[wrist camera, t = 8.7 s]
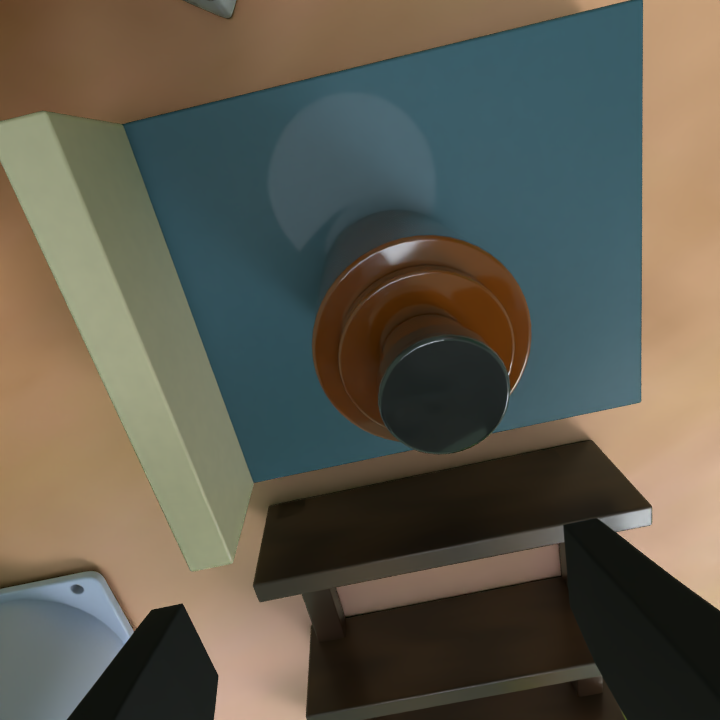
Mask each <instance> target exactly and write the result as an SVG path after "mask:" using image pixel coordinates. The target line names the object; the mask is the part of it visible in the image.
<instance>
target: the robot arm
mask: <svg viewBox="0 0 720 720" xmlns="http://www.w3.org/2000/svg"><path fill="white" fill-rule="evenodd" d="M563 529H564V542H565V554H566V566H567V579H568V591H569V603H570V608H571V610H572V612H573V614H574V617H575V619H576V621H577V624H578V626H579V628H580V631H581V633H582V635H583V637H584V640H585V642H586V644H587V646H588V649H589V651H590V653H591V655H592V657H593V660H594V662H595V664H596V666H597V668H598V670H599V671H600V673H601V675H602V677H603V679H604V680H605V682H606V684H607V686H608V688H609V689H610V691H611V693H612V695H613V696H614V698H615V700H616V702H617V704H618V705H619V707H620V709H621V711H622V712H623V714H624V716H625V718H626V719H627V720H720V611H719V610H718V609H717V608H715V607H714V606H712V605H711V604H710V603H708V602H707V601H706V600H704V599H703V598H701V597H700V596H699V595H697V594H696V593H694V592H693V591H692V590H690V589H689V588H688V587H686V586H685V585H683V584H682V583H681V582H679V581H678V580H677V579H675V578H674V577H673V576H671V575H670V574H669V573H667V572H666V571H665V570H664V569H662V568H661V567H660V566H658V565H657V564H656V563H654V562H653V561H652V560H651V559H649V558H648V557H647V556H645V555H644V554H643V553H641V552H640V551H639V550H638V549H636V548H635V547H634V546H633V545H631V544H630V543H629V542H627V541H626V540H625V539H624V538H622V537H621V536H620V535H619V534H617V533H616V532H615V531H614V530H612V529H611V528H610V527H609V526H607V525H606V524H605V523H603V522H602V521H600V520H599V519H597V518H594V519H589V520H584V521H580V522H575V523H570V524H565V525H563ZM77 584H78V585H77ZM79 585H80V586H79ZM217 685H218V674H217V672H216V670H215V668H214V666H213V664H212V662H211V660H210V658H209V656H208V654H207V652H206V650H205V648H204V646H203V644H202V642H201V640H200V637H199V635H198V633H197V631H196V629H195V627H194V625H193V623H192V621H191V619H190V617H189V615H188V613H187V611H186V609H185V607H184V605H183V604H178V605H173V606H168V607H163V608H158V609H154V610H151V611H150V613H149V614H148V615H147V616H146V618H145V619H144V620H143V621H142V623H141V624H140V625H139V626H138V628H137V629H136V630H135V632H134V631H133V629H132V627H131V625H130V624H129V622H128V620H127V618H126V616H125V615H124V613H123V611H122V609H121V607H120V606H119V604H118V602H117V600H116V598H115V597H114V595H113V593H112V591H111V589H110V588H109V586H108V584H107V582H106V580H105V579H104V577H103V576H102V575H101V574H100V573H98V572H95V571H86V572H81V573H76V574H71V575H67V576H62V577H57V578H52V579H47V580H42V581H37V582H32V583H27V584H22V585H17V586H12V587H7V588H2V589H0V720H214V713H215V704H216V694H217Z"/></svg>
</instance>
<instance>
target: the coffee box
mask: <svg viewBox="0 0 720 720" xmlns="http://www.w3.org/2000/svg"><path fill="white" fill-rule="evenodd" d="M183 1H185V2H188V3H190V4H193V5H195V6H197V7H200V8H202V9H204V10H207V11H209V12H211V13H214V14H216V15H219V16H221V17H224V18H229V17H231V16H232V13H233V10H234V7H235V3H236V0H183Z"/></svg>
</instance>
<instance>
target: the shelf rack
mask: <svg viewBox="0 0 720 720" xmlns="http://www.w3.org/2000/svg"><path fill="white" fill-rule="evenodd" d="M594 518H597V519H599V520H600V521H602V522H603V523H605V524H606V525H607V526H609V527H610V528H611V529H612V530H614V531H615V532H619V531H624V530H629V529H634V528H640V527H645V526H650V525H651V524H652V506H651V505H650V503H649V502H648V501H647V500H646V499H645V498H644V497H643V496H642V495H641V494H640V492H639V491H638V490H637V489H636V488H635V487H634V486H633V485H632V484H631V483H630V481H629V480H628V479H627V478H626V477H625V476H624V475H623V474H622V473H621V472H620V470H619V469H618V468H617V467H616V466H615V465H614V464H613V463H612V462H611V460H610V459H609V458H608V457H607V456H606V455H605V454H604V453H603V452H602V451H601V449H600V448H599V447H598V446H597V445H596V444H595V443H594V442H593V441H592V440H589V441H584V442H579V443H574V444H569V445H564V446H559V447H555V448H550V449H545V450H540V451H535V452H530V453H526V454H521V455H516V456H511V457H506V458H501V459H496V460H492V461H487V462H482V463H477V464H472V465H467V466H462V467H457V468H453V469H448V470H443V471H438V472H433V473H428V474H423V475H419V476H414V477H409V478H404V479H399V480H394V481H389V482H385V483H380V484H375V485H370V486H365V487H360V488H355V489H350V490H346V491H341V492H336V493H331V494H326V495H321V496H316V497H312V498H307V499H301V500H296V501H291V502H286V503H282V504H278V505H273V506H269V508H268V513H267V518H266V523H265V528H264V533H263V538H262V543H261V548H260V553H259V558H258V563H257V568H256V573H255V577H254V582H253V587H254V590H255V592H256V595H257V597H258V600H259V602H264V601H269V600H274V599H279V598H284V597H289V596H294V595H299V594H302V596H303V599H304V602H305V605H306V608H307V610H308V613H309V616H310V619H311V622H312V624H313V625H312V626H311V637H310V654H309V671H308V688H307V705H306V718H307V720H626V719H625V717H624V715H623V713H622V711H621V709H620V707H619V705H618V704H617V702H616V700H615V698H614V696H613V695H612V693H611V691H610V689H609V688H608V686H607V684H606V682H605V680H604V679H603V677H602V675H601V673H600V671H599V670H598V668H597V666H596V664H595V662H594V660H593V657H592V655H591V653H590V651H589V649H588V646H587V644H586V642H585V640H584V637H583V635H582V633H581V631H580V628H579V626H578V624H577V621H576V619H575V617H574V614H573V612H572V610H571V608H570V603H569V591H568V579H567V566H566V554H565V542H564V529H563V525H565V524H570V523H575V522H580V521H584V520H589V519H594ZM558 543H559V546H560V558H561V571H562V576H561V577H556V578H551V579H546V580H541V581H535V582H530V583H525V584H520V585H515V586H510V587H505V588H499V589H494V590H489V591H484V592H479V593H474V594H468V595H463V596H458V597H453V598H448V599H443V600H438V601H432V602H427V603H422V604H417V605H412V606H407V607H401V608H396V609H391V610H386V611H381V612H376V613H371V614H365V615H360V616H355V617H350V618H345V616H344V613H343V610H342V607H341V604H340V601H339V598H338V594H337V591H336V588H335V587H340V586H345V585H350V584H355V583H360V582H365V581H370V580H376V579H381V578H386V577H391V576H396V575H401V574H406V573H411V572H416V571H421V570H426V569H431V568H436V567H442V566H447V565H452V564H457V563H462V562H467V561H472V560H477V559H482V558H487V557H492V556H497V555H502V554H508V553H513V552H518V551H523V550H528V549H533V548H538V547H543V546H548V545H553V544H558Z"/></svg>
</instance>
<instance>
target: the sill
mask: <svg viewBox="0 0 720 720" xmlns="http://www.w3.org/2000/svg"><path fill="white" fill-rule="evenodd" d="M642 83H643V0H629V1H625V2H621V3H617V4H613V5H609V6H605V7H601V8H596V9H592V10H588V11H584V12H580V13H576V14H572V15H568V16H564V17H560V18H555V19H551V20H547V21H543V22H539V23H535V24H531V25H527V26H523V27H518V28H514V29H510V30H506V31H502V32H498V33H494V34H490V35H486V36H482V37H477V38H473V39H469V40H465V41H461V42H457V43H453V44H449V45H445V46H440V47H436V48H432V49H428V50H424V51H420V52H416V53H412V54H408V55H404V56H399V57H395V58H391V59H387V60H383V61H379V62H375V63H371V64H367V65H363V66H358V67H354V68H350V69H346V70H342V71H338V72H334V73H330V74H326V75H321V76H317V77H313V78H309V79H305V80H301V81H297V82H293V83H289V84H285V85H280V86H276V87H272V88H268V89H264V90H260V91H256V92H252V93H248V94H243V95H239V96H235V97H231V98H227V99H223V100H219V101H215V102H211V103H207V104H202V105H198V106H194V107H190V108H186V109H182V110H178V111H174V112H170V113H166V114H161V115H157V116H153V117H149V118H145V119H141V120H137V121H133V122H129V123H124V124H118V123H112V122H106V121H100V120H94V119H89V118H83V117H77V116H71V115H65V114H59V113H53V112H47V111H40V112H36V113H32V114H28V115H23V116H19V117H15V118H11V119H7V120H3V121H0V161H1V163H2V166H3V168H4V170H5V172H6V174H7V176H8V179H9V181H10V183H11V185H12V187H13V189H14V191H15V194H16V196H17V198H18V200H19V202H20V204H21V207H22V209H23V211H24V213H25V215H26V217H27V220H28V222H29V224H30V226H31V228H32V230H33V232H34V235H35V237H36V239H37V241H38V243H39V245H40V248H41V250H42V252H43V254H44V256H45V258H46V261H47V263H48V265H49V267H50V269H51V271H52V273H53V276H54V278H55V280H56V282H57V284H58V286H59V289H60V291H61V293H62V295H63V297H64V299H65V301H66V304H67V306H68V308H69V310H70V312H71V314H72V317H73V319H74V321H75V323H76V325H77V327H78V330H79V332H80V334H81V336H82V338H83V340H84V342H85V345H86V347H87V349H88V351H89V353H90V355H91V358H92V360H93V362H94V364H95V366H96V368H97V370H98V373H99V375H100V377H101V379H102V381H103V383H104V386H105V388H106V390H107V392H108V394H109V396H110V399H111V401H112V403H113V405H114V407H115V409H116V411H117V414H118V416H119V418H120V420H121V422H122V424H123V427H124V429H125V431H126V433H127V435H128V437H129V440H130V442H131V444H132V446H133V448H134V450H135V452H136V455H137V457H138V459H139V461H140V463H141V465H142V468H143V470H144V472H145V474H146V476H147V478H148V480H149V483H150V485H151V487H152V489H153V491H154V493H155V496H156V498H157V500H158V502H159V504H160V506H161V509H162V511H163V513H164V515H165V517H166V519H167V521H168V524H169V526H170V528H171V530H172V532H173V534H174V537H175V539H176V541H177V543H178V545H179V547H180V550H181V552H182V554H183V556H184V558H185V560H186V562H187V565H188V567H189V569H190V571H198V570H203V569H208V568H213V567H218V566H223V565H228V564H232V563H233V561H234V557H235V553H236V549H237V546H238V542H239V538H240V534H241V530H242V527H243V523H244V519H245V515H246V511H247V507H248V504H249V500H250V496H251V492H252V488H253V484H254V483H256V482H261V481H265V480H270V479H275V478H280V477H285V476H289V475H294V474H299V473H304V472H309V471H314V470H318V469H323V468H328V467H333V466H338V465H342V464H347V463H352V462H357V461H362V460H366V459H371V458H376V457H381V456H386V455H390V454H395V453H400V452H405V451H410V450H414V449H412V448H410V447H408V446H406V445H404V444H403V443H401V442H397V441H392V440H387V439H384V438H381V437H378V436H375V435H373V434H370V433H368V432H366V431H364V430H362V429H361V428H359V427H357V426H356V425H354V424H353V423H351V422H350V421H349V420H348V419H346V418H345V417H344V416H343V415H341V413H340V412H339V411H338V410H337V409H336V408H335V407H334V406H333V405H332V403H331V402H330V401H329V399H328V398H327V396H326V395H325V393H324V391H323V389H322V387H321V385H320V384H319V381H318V378H317V375H316V372H315V369H314V364H313V359H312V346H311V343H312V330H313V324H314V317H315V311H316V304H317V298H318V291H319V285H320V278H321V272H322V268H323V264H324V261H325V258H326V256H327V254H328V252H329V250H330V248H331V246H332V245H333V243H334V242H335V241H336V239H337V238H338V237H339V236H340V235H341V233H342V232H343V231H344V230H346V229H347V228H348V227H349V226H350V225H352V224H353V223H355V222H356V221H358V220H359V219H361V218H363V217H365V216H368V215H370V214H373V213H376V212H379V211H385V210H393V209H402V210H411V211H415V212H419V213H422V214H424V215H427V216H429V217H431V218H433V219H435V220H436V221H438V222H440V223H441V224H443V225H445V226H446V227H448V228H450V229H451V230H453V231H454V232H456V233H458V234H459V235H461V236H463V237H464V238H466V239H468V240H469V241H471V242H472V243H474V244H476V245H477V246H479V247H481V248H482V249H484V250H486V251H487V252H489V253H490V254H492V255H493V256H494V257H495V258H497V259H498V260H499V261H500V262H502V263H503V265H504V266H505V267H506V268H507V269H508V270H509V271H510V272H511V273H512V275H513V276H514V278H515V279H516V281H517V282H518V284H519V285H520V287H521V289H522V292H523V294H524V296H525V298H526V301H527V305H528V308H529V312H530V318H531V330H532V338H531V346H530V353H529V357H528V361H527V365H526V367H525V370H524V372H523V375H522V377H521V379H520V381H519V383H518V384H517V386H516V388H515V390H514V391H513V392H512V394H511V395H510V399H509V403H508V407H507V410H506V412H505V415H504V417H503V418H502V420H501V422H500V423H499V425H498V426H497V427H496V429H495V430H494V431H493V432H492V433H496V432H501V431H506V430H511V429H515V428H520V427H525V426H530V425H535V424H539V423H544V422H549V421H554V420H559V419H564V418H568V417H573V416H578V415H583V414H588V413H592V412H597V411H602V410H607V409H612V408H616V407H621V406H626V405H631V404H636V403H640V402H641V311H642Z"/></svg>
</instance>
